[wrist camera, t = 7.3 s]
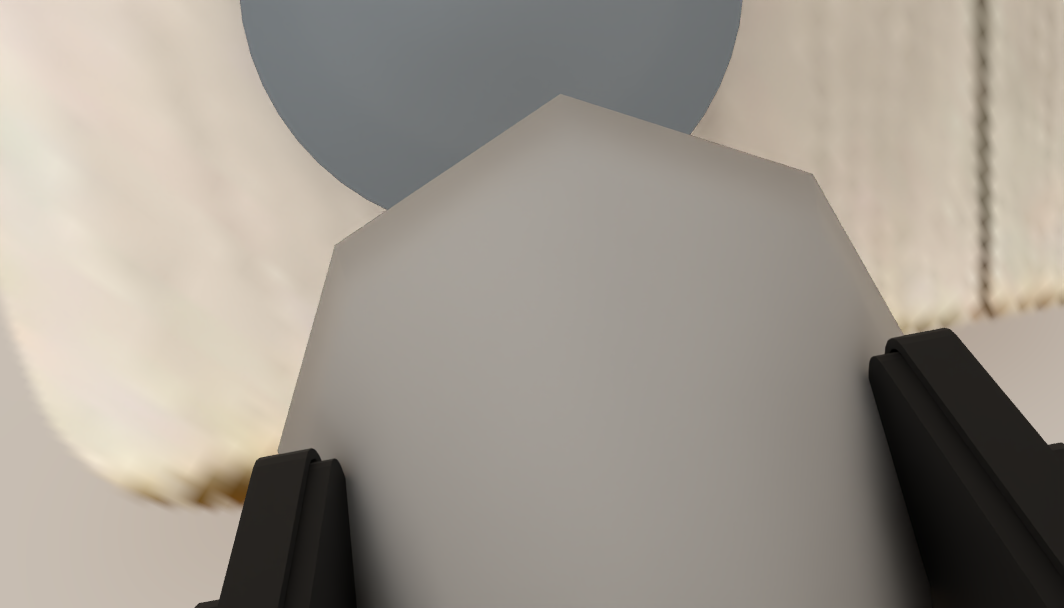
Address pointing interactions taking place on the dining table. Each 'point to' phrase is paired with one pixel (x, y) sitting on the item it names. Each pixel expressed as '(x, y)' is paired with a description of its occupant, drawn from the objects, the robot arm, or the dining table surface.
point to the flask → (608, 383)
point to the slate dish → (473, 73)
